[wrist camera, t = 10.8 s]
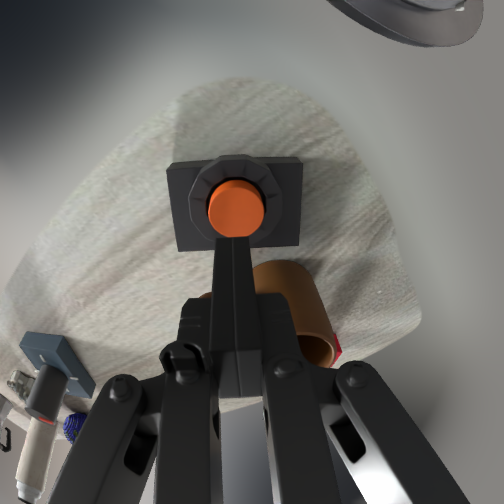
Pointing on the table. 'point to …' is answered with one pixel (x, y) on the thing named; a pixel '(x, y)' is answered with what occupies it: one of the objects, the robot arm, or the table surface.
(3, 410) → the coffeepot
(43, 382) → the temp dial
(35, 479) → the thermos bottle
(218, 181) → the push button switch
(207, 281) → the table surface
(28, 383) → the grey jagged hollow block
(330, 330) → the mug
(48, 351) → the dial panel
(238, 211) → the round orange button
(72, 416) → the ball
